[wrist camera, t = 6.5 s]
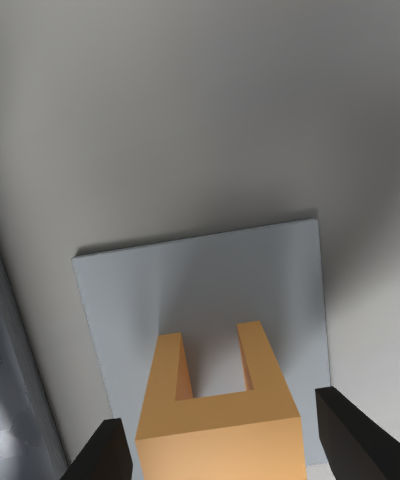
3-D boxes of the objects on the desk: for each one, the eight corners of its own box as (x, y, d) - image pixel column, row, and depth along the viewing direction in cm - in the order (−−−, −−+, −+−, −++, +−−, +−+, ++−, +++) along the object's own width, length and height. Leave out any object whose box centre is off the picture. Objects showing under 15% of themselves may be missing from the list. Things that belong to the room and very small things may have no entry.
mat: (332, 454, 15) (335, 461, 15) (134, 482, 15) (132, 490, 15) (314, 217, 12) (317, 219, 12) (74, 256, 13) (70, 259, 12)
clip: (269, 399, 14) (311, 531, 9) (174, 413, 14) (162, 551, 9) (259, 320, 13) (300, 416, 8) (158, 335, 13) (135, 440, 8)
